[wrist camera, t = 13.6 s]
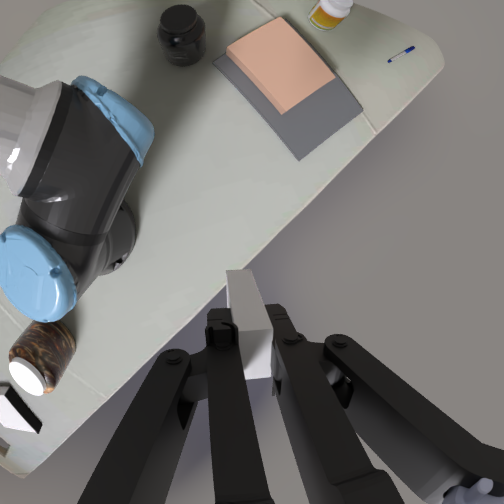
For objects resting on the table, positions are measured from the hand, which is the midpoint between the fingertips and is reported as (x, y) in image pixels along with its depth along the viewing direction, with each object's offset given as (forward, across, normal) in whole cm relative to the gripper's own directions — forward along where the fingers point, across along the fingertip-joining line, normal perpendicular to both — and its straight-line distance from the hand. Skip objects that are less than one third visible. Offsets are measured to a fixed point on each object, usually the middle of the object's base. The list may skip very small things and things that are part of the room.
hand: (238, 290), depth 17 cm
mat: (+29, +12, +22) cm, 38 cm away
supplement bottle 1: (+30, -6, +28) cm, 41 cm away
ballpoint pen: (+30, +36, +34) cm, 58 cm away
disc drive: (+30, -77, -57) cm, 100 cm away
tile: (+27, +14, +19) cm, 36 cm away
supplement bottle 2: (+30, +18, +37) cm, 50 cm away
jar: (+30, -39, -25) cm, 55 cm away
